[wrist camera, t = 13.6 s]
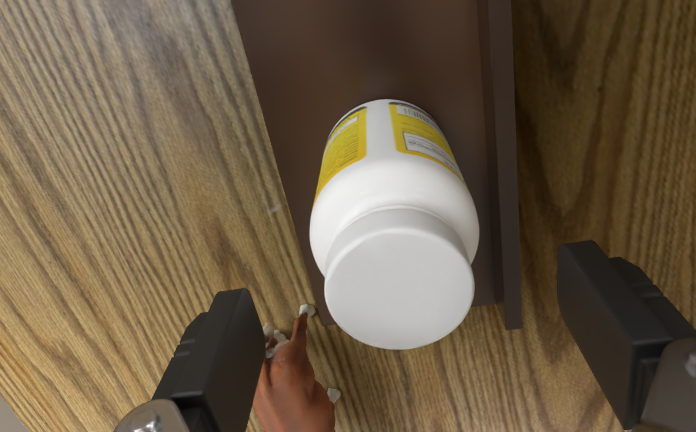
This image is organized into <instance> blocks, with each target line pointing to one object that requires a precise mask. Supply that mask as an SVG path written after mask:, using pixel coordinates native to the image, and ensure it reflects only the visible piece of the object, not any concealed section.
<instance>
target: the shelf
mask: <svg viewBox="0 0 696 432" xmlns="http://www.w3.org/2000/svg"><path fill="white" fill-rule="evenodd" d="M231 3H232V6H233V10H234V14H235V17H236V21H237V24H238V28H239V31H240V35H241V39H242V42H243V46H244V49H245V53H246V56H247V60H248V63H249V67H250V71H251V74H252V78H253V81H254V85H255V88H256V92H257V96H258V99H259V103H260V106H261V110H262V113H263V117H264V121H265V124H266V128H267V131H268V135H269V138H270V142H271V145H272V149H273V153H274V156H275V160H276V163H277V167H278V170H279V174H280V178H281V181H282V185H283V188H284V192H285V195H286V199H287V203H288V206H289V210H290V213H291V217H292V220H293V224H294V227H295V231H296V235H297V238H298V242H299V245H300V249H301V252H302V256H303V260H304V263H305V267H306V270H307V274H308V277H309V281H310V285H311V288H312V292H313V295H314V299H315V302H316V306H317V309H318V313H319V317H320V320H321V324H322V325H323V326H324V325H332V324H337V323H336V322H335V320H334V319H333V317H332V316H331V314H330V312H329V310H328V307H327V304H326V300H325V292H324V285H325V277H324V275H323V274H322V273H321V271H320V269H319V268H318V265H317V263H316V261H315V258H314V256H313V252H312V249H311V244H310V219H311V213H312V209H313V204H314V200H315V195H316V190H317V186H318V181H319V176H320V171H321V166H322V160H323V155H324V150H325V146H326V143H327V140H328V138H329V135H330V133H331V131H332V130H333V128H334V127H335V125H336V124H337V123H338V121H339V120H340V119H341V118H342V117H343V116H344V115H346V114H347V113H348V112H349V111H351V110H352V109H354V108H356V107H358V106H360V105H362V104H365V103H367V102H371V101H375V100H383V99H392V100H400V101H404V102H408V103H410V104H413V105H415V106H417V107H419V108H420V109H422V110H423V111H425V112H426V113H427V114H429V115H430V116H431V117H432V118H433V119H434V120H435V122H436V123H437V124H438V126H439V127H440V128H441V130H442V132H443V133H444V135H445V138H446V140H447V142H448V145H449V147H450V149H451V151H452V154H453V156H454V158H455V161H456V163H457V165H458V167H459V170H460V172H461V174H462V177H463V179H464V181H465V183H466V186H467V188H468V190H469V192H470V195H471V197H472V199H473V202H474V205H475V208H476V212H477V217H478V223H479V242H478V247H477V251H476V254H475V257H474V259H473V262H472V264H471V268H472V271H473V275H474V282H475V291H474V298H473V301H472V304H471V307H476V306H484V305H492V304H496V305H497V307H498V310H499V313H500V315H501V318H502V321H503V324H504V326H505V329H506V330H514V329H522V328H523V323H522V294H521V265H520V236H519V207H518V178H517V150H516V121H515V92H514V63H513V34H512V5H511V0H231Z"/></svg>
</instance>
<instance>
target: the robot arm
mask: <svg viewBox="0 0 696 432" xmlns="http://www.w3.org/2000/svg"><path fill="white" fill-rule="evenodd" d="M557 297H558V304H559V308H560V312H561V315H562V317H563V320H564V322H565V323H566V325H567V327H568V329H569V331H570V332H571V334H572V336H573V338H574V340H575V342H576V343H577V345H578V347H579V349H580V351H581V352H582V354H583V356H584V358H585V360H586V362H587V363H588V365H589V367H590V369H591V371H592V372H593V374H594V376H595V378H596V380H597V382H598V383H599V385H600V387H601V389H602V391H603V392H604V394H605V396H606V398H607V400H608V402H609V403H610V405H611V407H612V409H613V411H614V413H615V414H616V416H617V418H618V420H619V422H620V423H621V425H622V427H623V429H624V430H629V429H632V431H631V432H696V330H695V329H694V328H693V327H692V326H691V325H690V324H689V322H688V321H687V320H686V319H685V318H684V317H683V316H682V315H681V313H680V312H679V311H678V310H677V309H676V308H675V307H674V306H673V304H672V303H671V302H670V301H669V300H668V299H667V298H666V297H663V293H662V292H661V291H660V290H659V289H658V288H657V287H656V285H653V283H652V281H651V280H650V279H649V278H648V276H647V275H646V274H645V273H644V272H643V271H642V270H641V269H640V268H639V267H637V266H636V265H634V264H632V263H630V262H628V261H627V260H625V259H623V258H621V257H614V258H608V257H607V256H606V255H605V253H604V252H603V251H602V250H601V249H600V247H599V246H598V245H597V244H596V242H595V241H593V240H587V241H580V242H573V243H566V244H560V245H559V247H558V273H557ZM265 352H266V341H265V335H264V331H263V328H262V325H261V322H260V320H259V317H258V314H257V311H256V308H255V305H254V303H253V300H252V297H251V294H250V292H249V290H248V289H247V288H241V289H234V290H227V291H220V292H218V293H217V294H216V296H215V298H214V300H213V302H212V304H211V307H210V309H209V311H208V312H204V313H200V314H199V315H198V316H197V317H196V318H195V319H194V320H193V321H192V322H191V323H190V324H189V325H188V327H187V328H186V330H185V332H184V334H183V336H182V338H181V340H180V345H178V346H177V348H176V350H175V352H174V357H172V359H171V361H170V363H169V365H168V367H167V369H166V371H165V373H164V375H163V377H162V379H161V381H160V383H159V385H158V387H157V389H156V391H155V393H154V395H153V397H152V399H151V401H148V402H146V403H143V404H141V405H140V406H138V407H136V408H135V409H133V410H132V411H130V412H129V413H128V414H127V415H126V416H125V417H124V418H123V419H122V420H121V421H120V422H119V423H118V425H117V426H116V428H115V430H114V432H245V431H246V427H247V424H248V420H249V416H250V412H251V408H252V404H253V400H254V396H255V393H256V389H257V385H258V381H259V377H260V373H261V369H262V365H263V362H264V358H265Z"/></svg>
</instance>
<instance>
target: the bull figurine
mask: <svg viewBox="0 0 696 432" xmlns="http://www.w3.org/2000/svg"><path fill="white" fill-rule="evenodd" d="M314 314H315V308H314V306H312V305H308V304H304V305H301V306H300V311H299V317H298V318H297V319H295V321H294V326H293V334H292V337H291V339H290V340H287V337H286V336H285V335H284V334H280V330H274V327H273V325H272V323H266V325H265V326H264V327H263V331H264V335H265V341H266V352H265V358H264V362H263V365H262V369H261V373H260V377H259V381H258V385H257V389H256V393H255V396H254V400H253V405H254V409H255V412H256V414H257V416H258V419H259V421H260V423H261V425H262V428H263V430H264V432H335V430H334V427H335V411H336V406H335V402H336V400H337V399H339V398H340V396H341V392H340V390H338V389H336V388H335V389H332V388H328V391H327V392H326V390H325V389H324V388H323V386H322V385H321V384H320V383H319V382H318V381H316V380H315V375H314V370H313V368H312V365H311V363H310V362H309V359H308V356H307V352H306V329H307V319H308V318H309V317H310V316H312V315H314Z"/></svg>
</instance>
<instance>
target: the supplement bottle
mask: <svg viewBox="0 0 696 432" xmlns="http://www.w3.org/2000/svg"><path fill="white" fill-rule="evenodd" d="M478 242H479V223H478V217H477V212H476V208H475V205H474V202H473V199H472V197H471V195H470V192H469V190H468V188H467V186H466V183H465V181H464V179H463V177H462V174H461V172H460V170H459V167H458V165H457V163H456V161H455V158H454V156H453V154H452V151H451V149H450V147H449V145H448V142H447V140H446V138H445V135H444V133H443V132H442V130H441V128H440V127H439V126H438V124H437V123H436V122H435V120H434V119H433V118H432V117H431V116H430V115H429V114H427V113H426V112H425V111H423V110H422V109H420V108H419V107H417V106H415V105H413V104H410V103H408V102H404V101H400V100H392V99H383V100H375V101H371V102H367V103H365V104H362V105H360V106H358V107H356V108H354V109H352V110H351V111H349V112H348V113H347V114H346V115H344V116H343V117H342V118H341V119H340V120H339V121H338V123H337V124H336V125H335V127H334V128H333V130H332V131H331V133H330V135H329V138H328V140H327V143H326V146H325V150H324V155H323V160H322V166H321V171H320V176H319V181H318V186H317V190H316V195H315V200H314V204H313V209H312V213H311V219H310V244H311V249H312V252H313V256H314V258H315V261H316V263H317V265H318V268H319V269H320V271H321V273H322V274H323V275H324V277H325V285H324V292H325V300H326V304H327V307H328V310H329V312H330V314H331V316H332V317H333V319H334V320H335V322H336V323H337V324H338V325H339V326H340V328H342V329H343V330H344V331H345V332H346V333H347V334H349V335H350V336H352V337H353V338H355V339H357V340H358V341H360V342H363V343H365V344H368V345H371V346H374V347H378V348H383V349H393V350H402V349H413V348H418V347H422V346H425V345H428V344H431V343H433V342H435V341H438V340H440V339H442V338H443V337H445V336H446V335H448V334H449V333H451V332H452V331H453V330H454V329H456V328H457V327H458V325H459V324H460V323H461V322H462V321H463V320H464V318H465V317H466V315H467V313H468V311H469V309H470V307H471V304H472V301H473V298H474V291H475V282H474V275H473V271H472V268H471V264H472V262H473V259H474V257H475V254H476V251H477V247H478Z"/></svg>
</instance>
